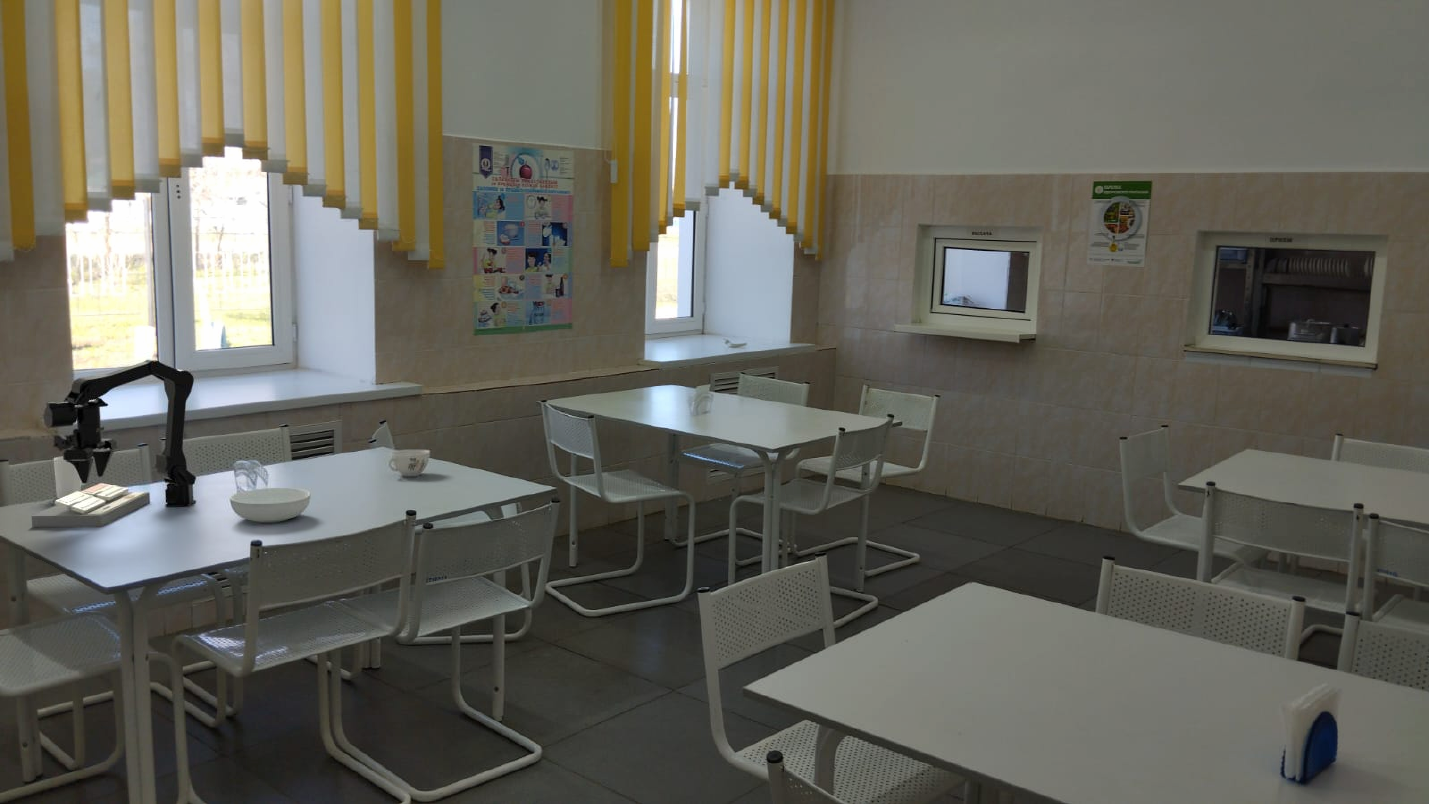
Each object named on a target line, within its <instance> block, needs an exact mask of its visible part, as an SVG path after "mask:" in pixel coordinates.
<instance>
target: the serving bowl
mask: <svg viewBox="0 0 1429 804" xmlns="http://www.w3.org/2000/svg"><path fill="white" fill-rule="evenodd" d="M229 502H230V505H231V508H232V510H233V512H234V513H235V514H236V515H237V516H238V517H239V518H242V519H245V520H248V521H251V522H252V521H253V522H256V523H262V524H263V523H264V524H266V523H267V524H268V523H279V522H283V521H287V520H289V519H293V518H295V517H297V516H300V515H301V514H302V513H304V512H305V511H306V509H307V508H308V506H309V505H310V502H311V492H309V491H308V490H306V489H301V488H294V487H292V488H291V487H270V488H268V487H267V488H257V489H256V488H255V489H251V490H250V489H249V490H245V491H241V492H238V493H234V494H232V495H230V497H229Z"/></svg>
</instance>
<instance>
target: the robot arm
mask: <svg viewBox="0 0 1429 804" xmlns="http://www.w3.org/2000/svg"><path fill="white" fill-rule="evenodd" d="M150 376H153V377H155V378H157V379H158V380H160V381H163V387H164V392H165V395H166V397H167V413H166V414H167V415H166V427H165V428H166V429H165V440H164V449H163V451H162V452H161V454H159V453H157V454H156V456H155V460H156V463H155V466H154V468H155V469H156V473H157V474H158V475H159V476H160V477H161V478H162V479H163V481H164V483H165V484H166V488H165V489H164V490H165V503H166V504H164V505H165V507H189V506H191V505H192V504H194V503H196V502H197V500H196V499H194V485H195V483H196V481H197V477H196V476H195V475H194V474H192V472H190V471H189V470H188V465H187V459H186V456H185V453H184V433H185V422H186V421H185V419H186V407H187V401H188V398H189V397H190V395H191V393H192V391H193V387H194V386H193V385H194V382H195V380H194V379H195V377H194V375H193V374H192V373H191V372H190V371H187V370H184V369H176V368H174V367H171V366H168V365H167V364H164V363H162V362H160V361H159V360H155V359H150V358H149V359H146V360H145V361H142V362H139V363H136V364H133V365H130V366H126V367H124V368H121V369H118V370H114V371H112V372H110V373H106V374H100V375H91V376H84V377H78V378H77V379H75V380H74V381H73V382H72V384H71V390H70V391H69V393H68V394H67V395H66V397H65V398H64V400H63V401H59V402H53V401H52V402H51V401H50V402H45V403H46V407H45V409H44V412H43V422H44V425H45V426H46V427H47V428H48V429H55V428H63V427H72V426H73V425H74V424H76V428H74V429H73V430H72V434H70V435H68V436H65V435H64V434H60V435H57V436H54V438H53V439H54V441H53V447H54V448H56V449H58V452H62V456H63V460H66V461H67V462H70V463H71V464H73V465H74V466H75V468H76V470H77V472H78V475H79V477H80V479H81V481H82V483H86V484H88V481H89V478H90V474H91V470H92V465H93V462H94V464H95V471H96V474H97V477H98V478H100V477H101V478H102V477H104V474H105V472H106V469H107V467H108V464H109V462H110V461H111V459H112V457H113V454H114V453H115V449H117V448H118V447H117V446H118V444H117V441H116V440H115V438H103V437H102V431H104V430H105V426H104V425H103V426H102V424H101V423H102V422H101V408H102V407H108V406H109V404H108V403H107V402H105V401H104V400H103V398H101V397H102V396H104V395H106V394H108V393H109V392H110V391H111V390H113V389H115V388H117V387H120V386H123V385H126V384H129V383H132V382H135V381H138V380H141V379H143V378H147V377H150Z"/></svg>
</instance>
